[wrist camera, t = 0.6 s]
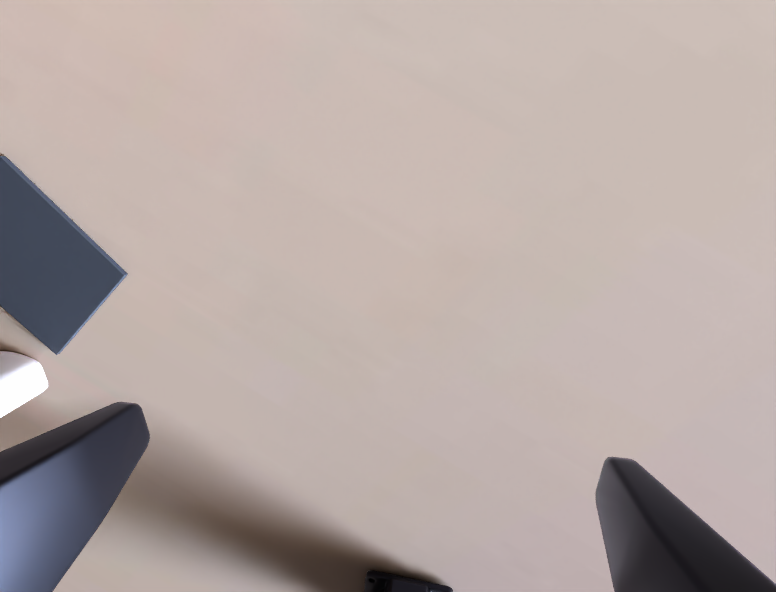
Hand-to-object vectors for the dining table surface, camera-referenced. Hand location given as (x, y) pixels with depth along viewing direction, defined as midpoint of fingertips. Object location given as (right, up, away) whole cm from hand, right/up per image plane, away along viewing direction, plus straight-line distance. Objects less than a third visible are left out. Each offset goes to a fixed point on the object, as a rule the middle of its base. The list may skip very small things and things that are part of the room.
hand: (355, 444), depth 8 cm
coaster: (-21, +5, +17) cm, 28 cm away
